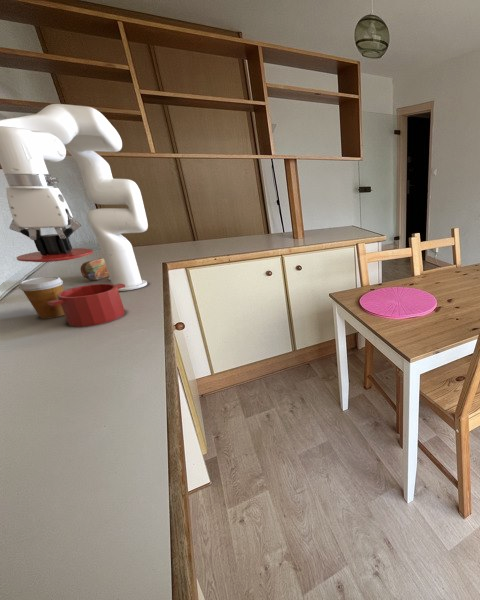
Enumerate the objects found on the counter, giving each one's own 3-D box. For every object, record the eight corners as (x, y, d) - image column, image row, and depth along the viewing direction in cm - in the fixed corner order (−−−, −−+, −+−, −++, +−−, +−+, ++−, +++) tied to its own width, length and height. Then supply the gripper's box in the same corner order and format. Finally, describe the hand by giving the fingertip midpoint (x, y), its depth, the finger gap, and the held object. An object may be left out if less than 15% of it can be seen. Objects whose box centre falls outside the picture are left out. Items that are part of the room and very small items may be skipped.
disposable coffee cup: (32, 314, 103) (17, 279, 99) (73, 307, 110) (60, 274, 105) (32, 323, 97) (16, 286, 93) (75, 314, 104) (62, 280, 99)
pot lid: (5, 260, 82) (-5, 237, 80) (75, 250, 95) (67, 230, 92) (38, 266, 77) (28, 241, 75) (106, 254, 90) (99, 233, 88)
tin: (90, 282, 134) (83, 263, 131) (82, 282, 134) (75, 263, 131) (119, 272, 148) (114, 255, 145) (113, 272, 148) (107, 255, 145)
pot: (46, 325, 96) (34, 297, 92) (116, 304, 113) (108, 279, 109) (74, 333, 92) (62, 303, 88) (142, 310, 108) (135, 284, 105)
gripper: (79, 182, 86) (101, 248, 92) (-7, 181, 79) (22, 252, 85) (67, 182, 79) (90, 253, 86) (-29, 181, 72) (5, 258, 79)
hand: (56, 252), depth 85 cm, fingers closed on pot lid, 3 cm apart
